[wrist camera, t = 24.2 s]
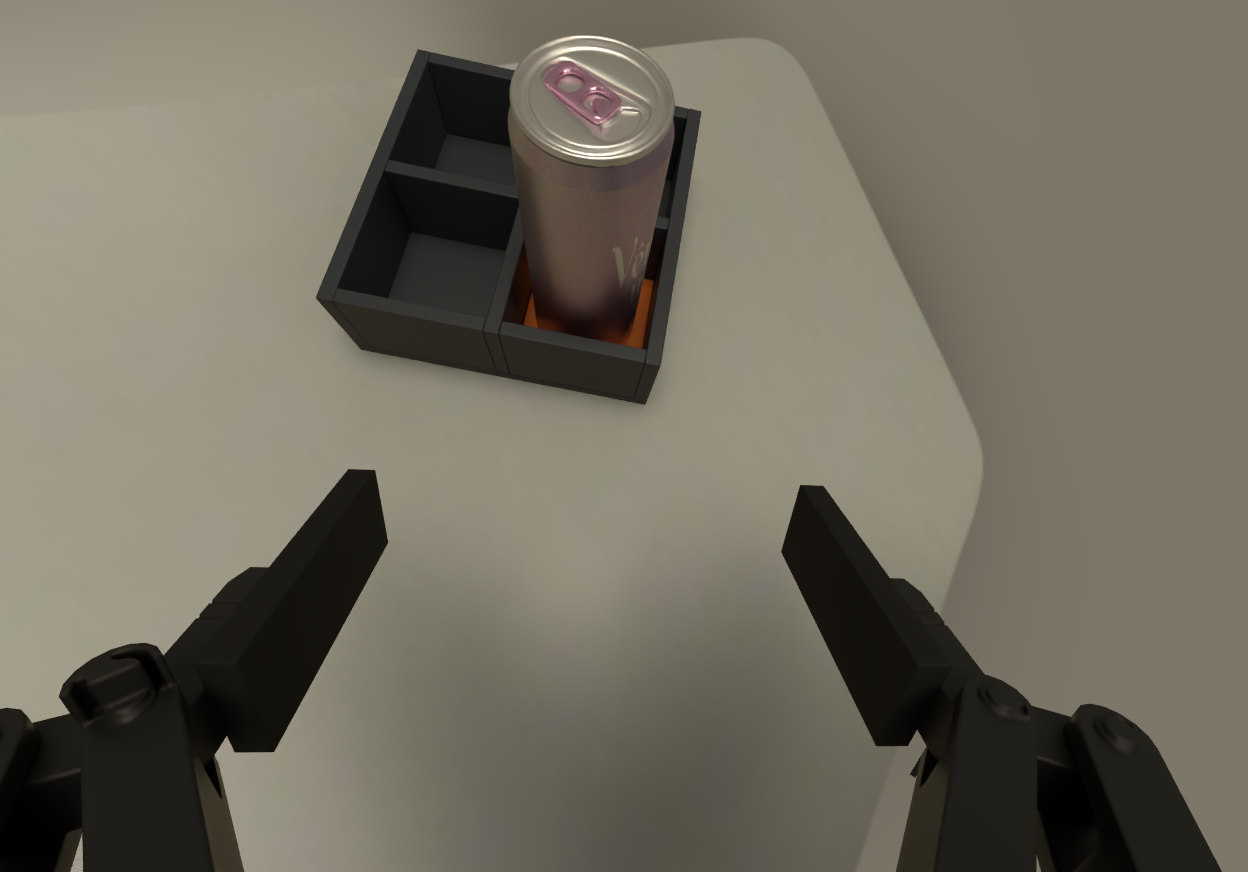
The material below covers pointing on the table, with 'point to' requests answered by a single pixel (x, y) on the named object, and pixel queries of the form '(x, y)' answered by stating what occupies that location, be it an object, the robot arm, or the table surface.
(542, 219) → the beverage can
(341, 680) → the table surface
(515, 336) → the tray
